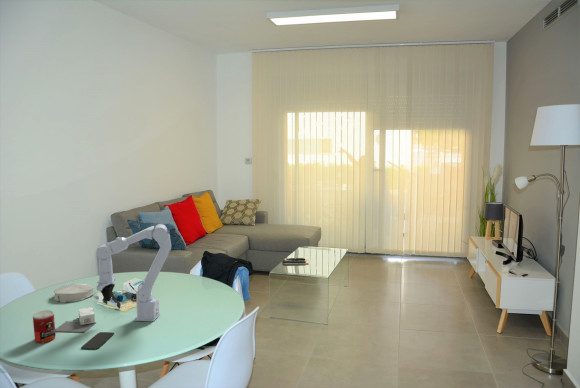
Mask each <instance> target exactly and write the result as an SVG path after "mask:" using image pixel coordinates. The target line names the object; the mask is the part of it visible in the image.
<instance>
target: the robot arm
mask: <svg viewBox="0 0 580 388" xmlns="http://www.w3.org/2000/svg"><path fill="white" fill-rule="evenodd" d="M145 239H148V240H153V239H154V240H155V242H157V244H158V246H159V250H158V251H157V254H156V255H155V258H154V259H153V261H152V263H151V265H150V268H149V269H148V271H147V274H146V275H145V277H144V279H143V281H142V282H141V283H139V285H138V286H137V291H136V294H135V296H136V299H135V300H136V317H135V318H134V319H133V321H134V322H154V321H156V319H157V318H158V317H159V316H160V315H161V314H160V302H159V300H158V299H157V298H156V299H155V298H154V297H153V295H152V290H153V287H154V285H155V282H156V280H157V278H158V276H159V275H160V272H161V271H162V268H163V267H164V264H165V263H166V260H167V258H168V256H169V254H170V252H171V250H172V243H171V234H170V230H169V228H167V226H166V225H165V224H164V223H158V224H156V225H152V226H149V227H147V228H145V229H143V230H141V231H138V232H136V233H134V234H132V235H130V236H128V237H123V236H121V237H119V236H118V237H116V238H115V239H114V240H112V241H109V242H108V241H107V242H105V243H103V244H101V245H99V247H98V248H97V251H96V256H97V260H98V262H97V264H98V280H97V281H96V284H97V286H96V291H97V292H100V293H101V294H102V295H101V296H102V297H103V299H104V302H111V299H112V295H113V292H114V288H115V286H116V284H115V283H114V282H115V281H116V280H117V277H116V275H114V273H113V272H114V271H113V269H114V268H113V261H112V256H114V255H117V254H119V253H120V252H122V251H125V250H127V249H128V248H129V245H132V244H134V243H137V242H139V241H142V240H145Z"/></svg>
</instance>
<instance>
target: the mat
mask: <svg viewBox="0 0 580 388" xmlns="http://www.w3.org/2000/svg"><path fill="white" fill-rule="evenodd" d="M95 324H97V322H96V321H95V323H91V324H85V325H80V321H74V320H73V321H68V320H67V321H65V322H63V323H62V324H61V325H59V326H58V327H57V328H56V327H55V333H78V334H79V333H80V334H81V333H86V332H87V331H88V330H90V329H91V328H92V327H94V325H95Z"/></svg>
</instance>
